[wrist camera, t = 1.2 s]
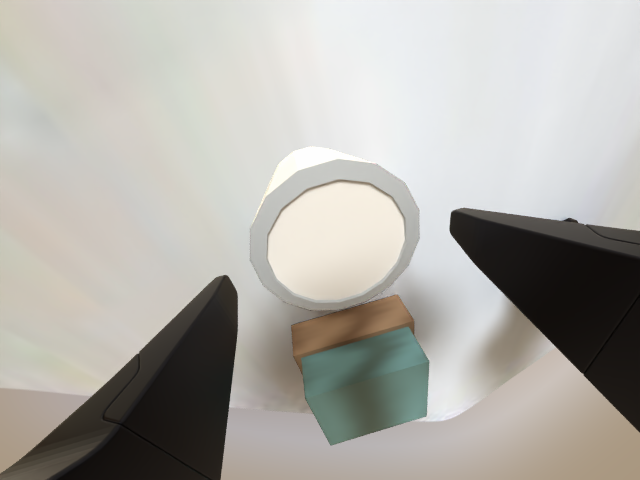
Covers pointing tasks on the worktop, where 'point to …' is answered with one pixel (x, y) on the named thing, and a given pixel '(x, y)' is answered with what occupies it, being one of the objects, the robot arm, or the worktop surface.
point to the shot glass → (332, 230)
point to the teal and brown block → (362, 369)
